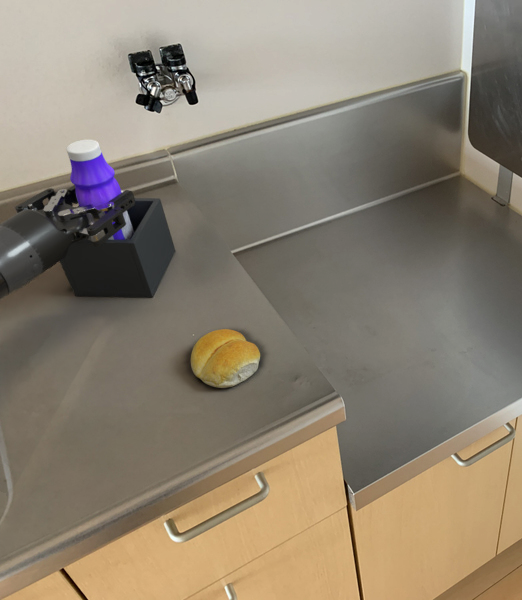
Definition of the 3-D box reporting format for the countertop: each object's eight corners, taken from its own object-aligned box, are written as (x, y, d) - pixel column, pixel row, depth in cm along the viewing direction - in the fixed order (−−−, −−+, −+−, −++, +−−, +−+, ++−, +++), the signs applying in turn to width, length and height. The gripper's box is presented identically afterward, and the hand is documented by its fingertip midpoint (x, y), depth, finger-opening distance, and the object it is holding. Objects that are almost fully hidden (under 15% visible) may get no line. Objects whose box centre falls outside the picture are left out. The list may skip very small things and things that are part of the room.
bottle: (100, 241, 94) (61, 136, 83) (139, 235, 96) (105, 131, 84) (98, 269, 89) (56, 161, 78) (139, 262, 91) (103, 155, 79)
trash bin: (75, 296, 91) (50, 241, 84) (105, 250, 100) (84, 197, 93) (152, 297, 91) (133, 243, 84) (175, 251, 100) (160, 198, 93)
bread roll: (231, 332, 85) (226, 311, 83) (271, 365, 81) (267, 344, 78) (179, 363, 81) (172, 342, 78) (217, 400, 76) (211, 379, 74)
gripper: (48, 241, 72) (144, 177, 83) (-39, 214, 76) (64, 156, 87) (69, 290, 77) (158, 223, 88) (-14, 262, 81) (81, 201, 92)
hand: (111, 190), depth 88 cm, fingers closed on bottle, 7 cm apart
